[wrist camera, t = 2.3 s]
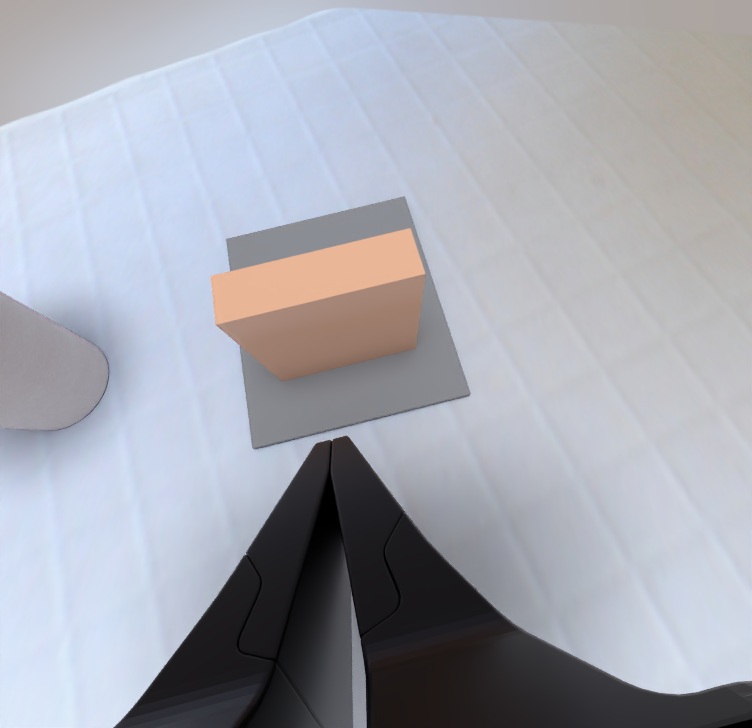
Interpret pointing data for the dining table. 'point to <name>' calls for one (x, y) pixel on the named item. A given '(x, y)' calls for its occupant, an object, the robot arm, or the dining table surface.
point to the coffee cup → (45, 371)
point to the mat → (356, 381)
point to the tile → (325, 305)
